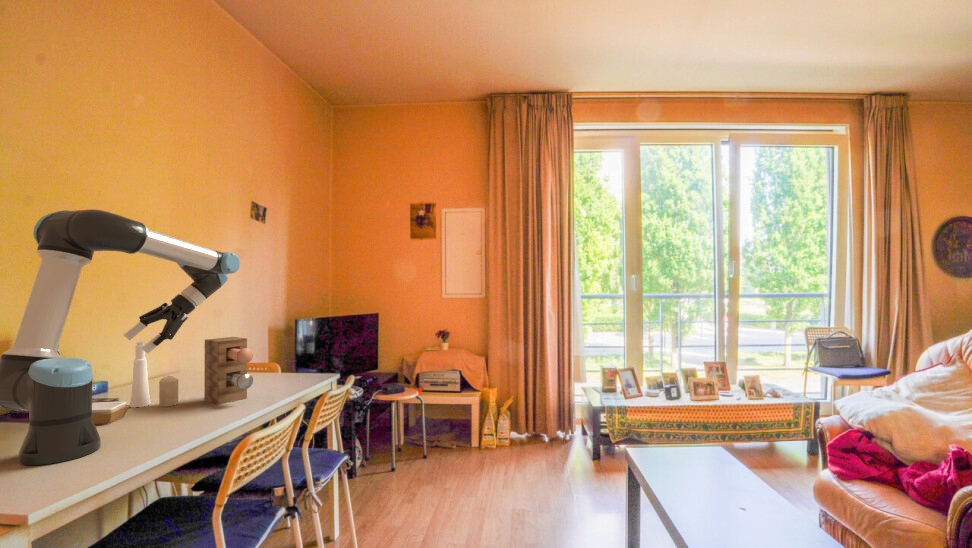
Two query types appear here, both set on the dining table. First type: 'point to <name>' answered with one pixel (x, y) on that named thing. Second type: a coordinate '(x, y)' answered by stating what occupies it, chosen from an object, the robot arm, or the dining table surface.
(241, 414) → the dining table surface
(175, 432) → the dining table surface
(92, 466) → the dining table surface
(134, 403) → the cosmetic bottle
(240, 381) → the steel plug
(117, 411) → the soap dish
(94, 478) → the dining table surface
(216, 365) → the socket block
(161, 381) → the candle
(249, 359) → the terracotta plug
